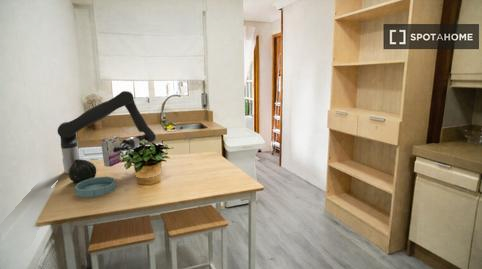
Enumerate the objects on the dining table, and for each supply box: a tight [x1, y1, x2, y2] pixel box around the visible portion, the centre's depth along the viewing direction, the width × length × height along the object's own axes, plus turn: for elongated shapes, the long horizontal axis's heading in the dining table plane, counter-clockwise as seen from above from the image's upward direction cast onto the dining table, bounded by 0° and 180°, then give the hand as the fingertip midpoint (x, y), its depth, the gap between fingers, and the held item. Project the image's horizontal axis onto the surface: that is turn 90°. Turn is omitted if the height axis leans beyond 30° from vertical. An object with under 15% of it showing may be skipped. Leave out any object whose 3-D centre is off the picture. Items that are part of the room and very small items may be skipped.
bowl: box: [74, 176, 117, 199], centre depth 164 cm, size 20×20×4 cm
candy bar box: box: [100, 135, 123, 168], centre depth 180 cm, size 11×5×16 cm, turn 161°
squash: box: [68, 158, 97, 184], centre depth 177 cm, size 14×15×15 cm
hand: (110, 150), depth 179 cm, fingers closed on candy bar box, 5 cm apart
